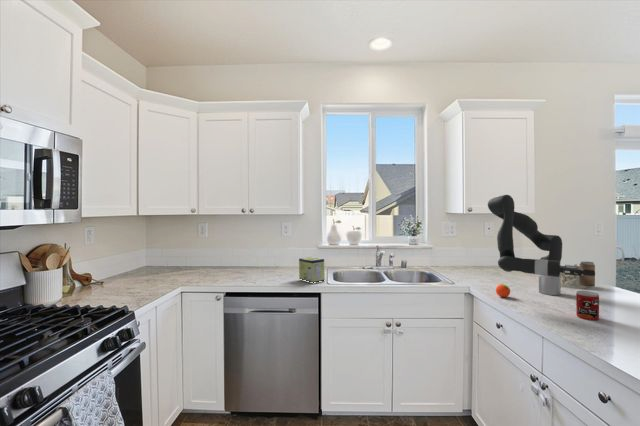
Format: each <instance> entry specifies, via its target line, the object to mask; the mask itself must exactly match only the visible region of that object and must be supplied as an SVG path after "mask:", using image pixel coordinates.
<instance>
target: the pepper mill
mask: <svg viewBox="0 0 640 426" xmlns="http://www.w3.org/2000/svg"><path fill="white" fill-rule="evenodd" d="M579 266H580V267H579V269H583V270H594V271H595V272H596V265H595V264H594V261H585V260H584V261H582V260H581V261H580V263H579ZM579 284H580V285H582V286H589V288H591V287H595V286H596V275H595V276H590V275H582V276H579Z"/></svg>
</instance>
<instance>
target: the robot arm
mask: <svg viewBox="0 0 640 426" xmlns="http://www.w3.org/2000/svg"><path fill="white" fill-rule="evenodd" d="M514 200H515V199H514V198H513V197H512V196H511V195H509V194H504V195H499V196H496V197H493V198H491V199H489V200H488V201H487V207H488V210H489V212H491V213H492V214H493V215H495V216H496V217H498V218H500V219H501V220H502V222H501V226H500V227H499V230H498V233H497V236H496V240H497V241H496V242H497V249H498V252H499V259H498V261H497V265H498V267H499V268H500V269H501V270H503V271H504V272H506V273H507V272H509V273H511V272H513V271H514V272H521V273H524V274H530V275H531V274H532V275H533V274H534V275H538V293H541V294H544V295H548V296H549V295H550V296H560V295H561V292H562V291H561V290H562V289H561V273H564V274H565V275H578V276H582V275H590V276H595V277H596V270H595V271H594V270H583V269H579V267H580V265H579V266H578V265H577V266H574V265H570V264H565V265H561V261H562V258H563V240H562V237H560V235H556V234H544V233H543V232H540V231H539V230H538V224H537V222H536V221H535V220H534V219H533V218H531V217H530V215H527V214H525V213H521V212H518V211H515V201H514ZM514 228H515V230H516V231H518V232H519V233H521V234H522V235H524V236H525V237H526V238H527V239H529V240H530V241H531V242H532V243H533V244H534V245H535V246H536V247H537V248H538V249H539V250H541V251H544V252H545V251H546V252H548V255H546V256H543V257H540V258H539V259H536V258H534V259H533V258H521V257H516V256H515V251H514V237H513V236H514V233H513V231H514Z"/></svg>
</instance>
